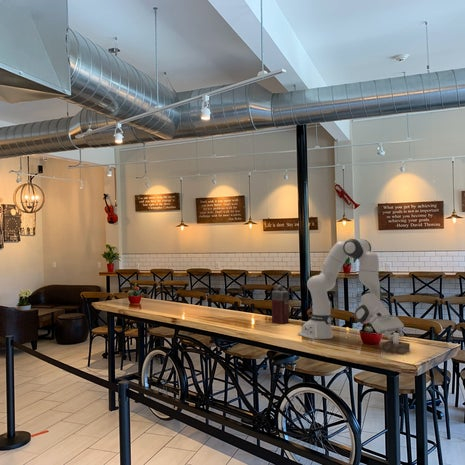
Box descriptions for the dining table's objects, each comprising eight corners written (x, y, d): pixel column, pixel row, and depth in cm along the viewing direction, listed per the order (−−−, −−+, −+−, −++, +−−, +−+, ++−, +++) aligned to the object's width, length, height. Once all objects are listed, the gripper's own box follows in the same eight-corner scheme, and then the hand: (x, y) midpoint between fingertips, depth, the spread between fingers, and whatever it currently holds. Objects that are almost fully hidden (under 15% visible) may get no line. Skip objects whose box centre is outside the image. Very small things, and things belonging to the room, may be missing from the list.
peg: (391, 351, 245) (391, 333, 246) (394, 350, 247) (394, 332, 248) (397, 352, 243) (397, 333, 243) (399, 351, 245) (399, 333, 245)
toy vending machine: (284, 324, 322) (284, 285, 322) (271, 322, 329) (271, 284, 330) (291, 323, 328) (291, 284, 329) (278, 321, 336) (278, 283, 336)
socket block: (382, 350, 246) (382, 342, 246) (390, 348, 253) (390, 340, 253) (401, 354, 238) (401, 346, 238) (409, 351, 245) (409, 343, 245)
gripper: (390, 318, 261) (405, 338, 252) (366, 321, 250) (381, 342, 241) (397, 311, 257) (412, 331, 249) (373, 314, 246) (388, 335, 238)
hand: (396, 337), depth 245 cm, fingers open, 8 cm apart
